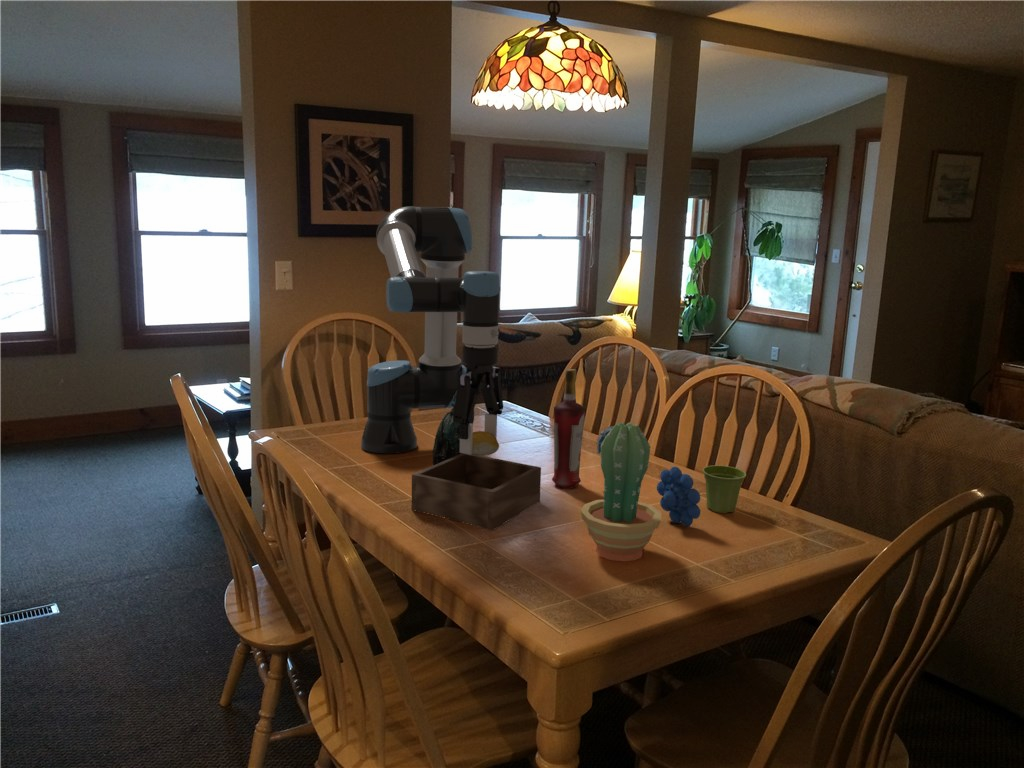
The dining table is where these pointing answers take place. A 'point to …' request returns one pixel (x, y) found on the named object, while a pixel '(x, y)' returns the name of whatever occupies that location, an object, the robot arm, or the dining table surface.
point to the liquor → (568, 435)
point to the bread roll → (484, 443)
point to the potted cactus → (621, 496)
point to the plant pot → (722, 487)
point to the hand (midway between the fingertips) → (478, 448)
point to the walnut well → (476, 489)
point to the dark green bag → (447, 438)
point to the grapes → (678, 496)
